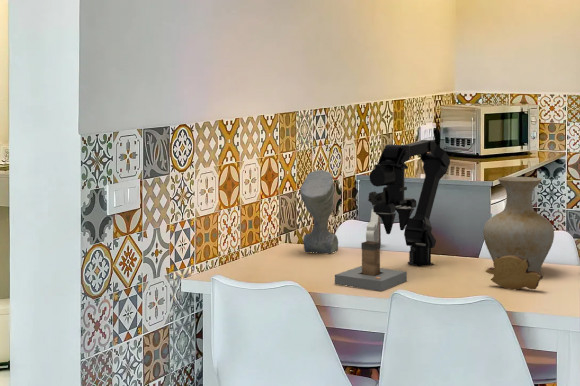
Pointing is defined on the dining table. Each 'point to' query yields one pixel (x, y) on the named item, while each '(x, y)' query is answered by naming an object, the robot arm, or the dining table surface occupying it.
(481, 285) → the dining table surface
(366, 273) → the plug
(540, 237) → the vase
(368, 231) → the decorative sign
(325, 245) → the sculpture
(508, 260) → the wooden carving
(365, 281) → the socket
